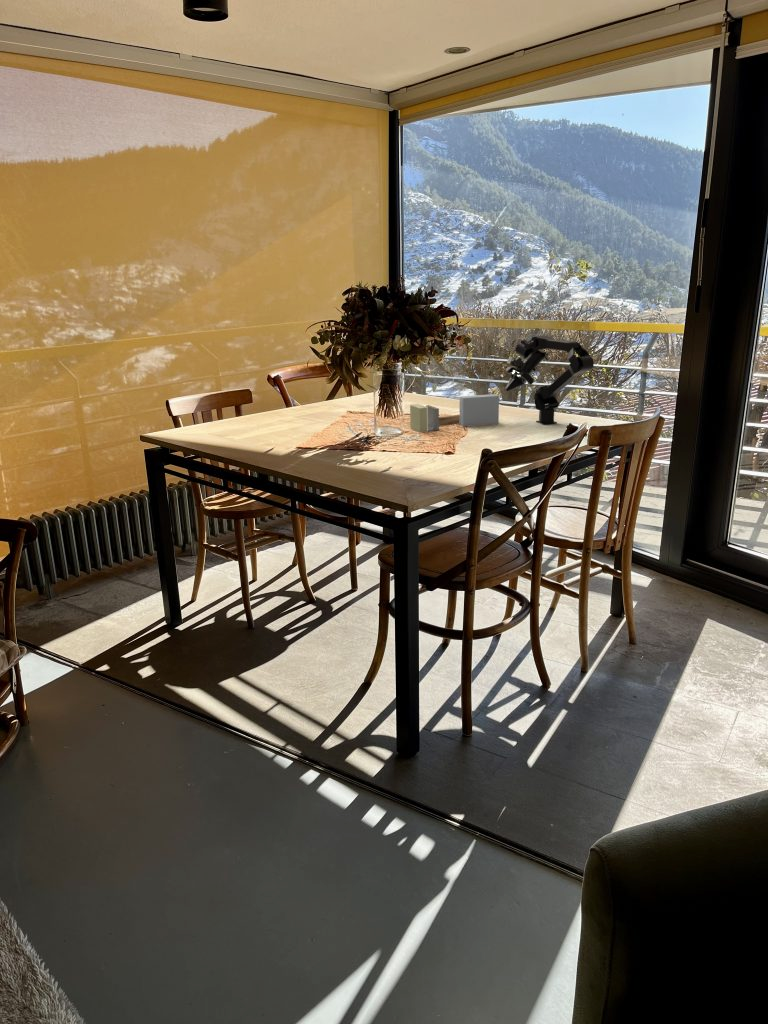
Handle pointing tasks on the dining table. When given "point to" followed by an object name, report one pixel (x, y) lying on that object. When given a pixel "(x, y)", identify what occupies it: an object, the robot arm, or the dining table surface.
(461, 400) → the boxed book
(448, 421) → the rail
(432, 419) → the bookend
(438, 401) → the dining table surface
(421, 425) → the shelved book
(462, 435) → the dining table surface
